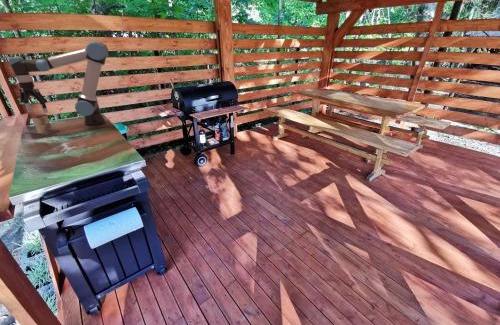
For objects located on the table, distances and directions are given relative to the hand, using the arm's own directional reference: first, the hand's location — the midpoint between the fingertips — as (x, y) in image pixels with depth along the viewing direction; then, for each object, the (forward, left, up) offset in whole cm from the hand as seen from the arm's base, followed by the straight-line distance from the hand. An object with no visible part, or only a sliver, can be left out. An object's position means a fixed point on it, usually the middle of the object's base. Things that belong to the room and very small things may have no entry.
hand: (38, 112), depth 171 cm
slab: (0, 0, -14) cm, 14 cm away
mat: (0, -3, -15) cm, 15 cm away
